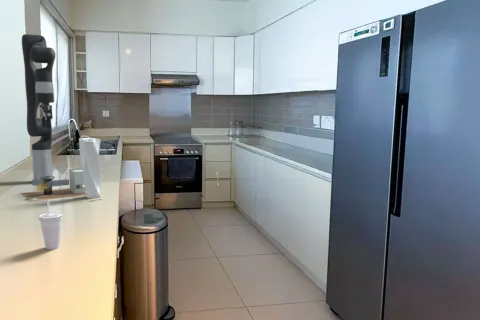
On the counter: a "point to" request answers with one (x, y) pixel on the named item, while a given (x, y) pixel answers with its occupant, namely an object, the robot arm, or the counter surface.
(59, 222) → the smoothie
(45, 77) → the robot arm
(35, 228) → the counter surface
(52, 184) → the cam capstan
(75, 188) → the stand
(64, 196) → the walnut board
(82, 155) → the cylindrical container
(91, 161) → the skyscraper
